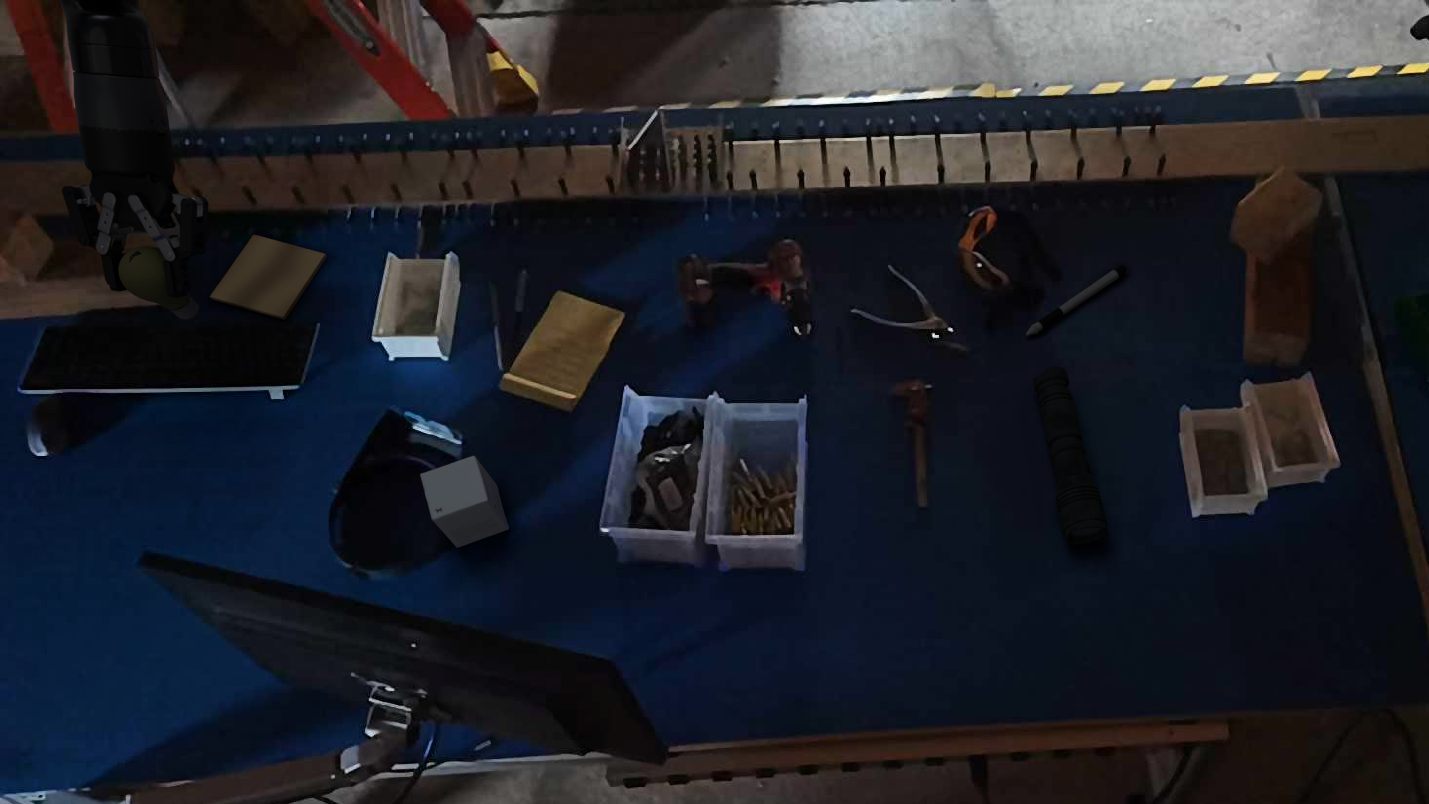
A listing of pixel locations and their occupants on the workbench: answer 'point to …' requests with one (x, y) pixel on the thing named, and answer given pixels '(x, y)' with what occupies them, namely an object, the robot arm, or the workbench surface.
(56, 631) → the workbench surface
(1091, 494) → the flashlight
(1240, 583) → the workbench surface
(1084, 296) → the pen
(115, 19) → the robot arm
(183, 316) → the light bulb
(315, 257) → the mat
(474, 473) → the product box
